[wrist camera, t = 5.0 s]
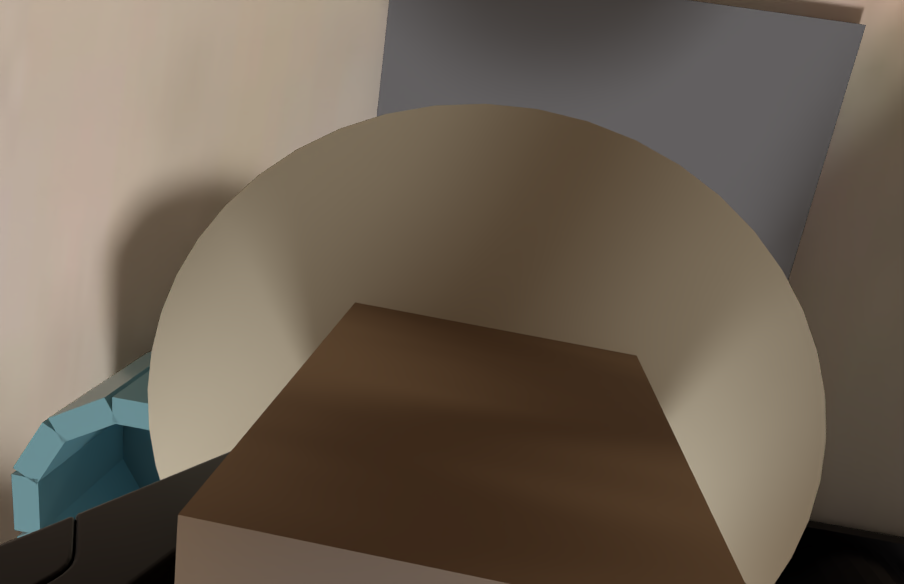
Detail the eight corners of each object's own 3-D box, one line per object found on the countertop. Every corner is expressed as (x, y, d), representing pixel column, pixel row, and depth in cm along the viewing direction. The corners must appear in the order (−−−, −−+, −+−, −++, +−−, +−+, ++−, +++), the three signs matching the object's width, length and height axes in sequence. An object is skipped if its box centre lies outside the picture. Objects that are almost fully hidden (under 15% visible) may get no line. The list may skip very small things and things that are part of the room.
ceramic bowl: (338, 359, 22) (288, 429, 17) (318, 554, 24) (270, 663, 20) (114, 320, 23) (5, 377, 18) (115, 516, 25) (19, 613, 20)
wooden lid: (885, 169, 9) (1564, 283, 3) (694, 709, 12) (867, 1300, 6) (200, 51, 10) (-309, -38, 4) (174, 597, 12) (-138, 1043, 7)
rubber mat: (858, 26, 18) (865, 25, 18) (733, 442, 22) (736, 448, 21) (396, -39, 19) (393, -42, 18) (351, 375, 22) (348, 380, 22)
